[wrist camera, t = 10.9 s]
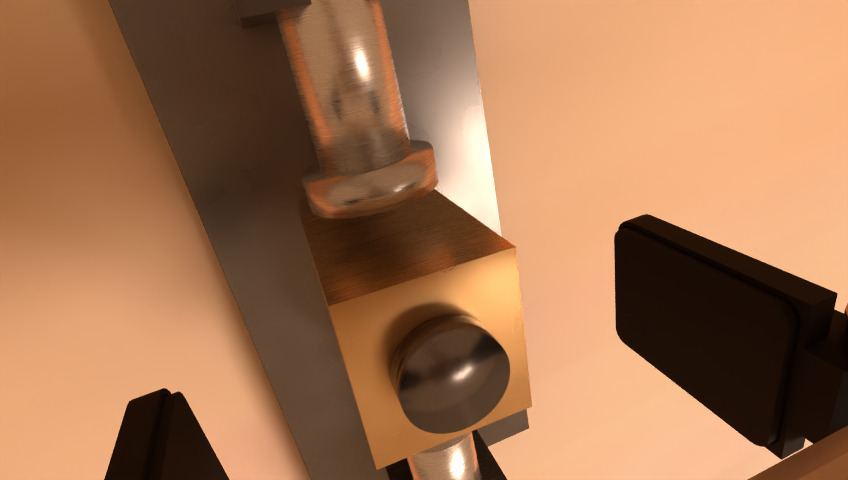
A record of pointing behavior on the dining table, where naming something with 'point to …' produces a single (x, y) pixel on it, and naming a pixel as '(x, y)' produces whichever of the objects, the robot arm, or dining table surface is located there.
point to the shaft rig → (318, 174)
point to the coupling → (423, 321)
